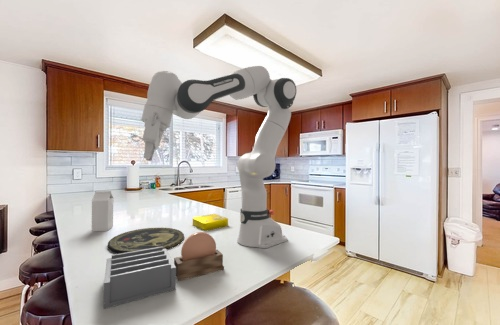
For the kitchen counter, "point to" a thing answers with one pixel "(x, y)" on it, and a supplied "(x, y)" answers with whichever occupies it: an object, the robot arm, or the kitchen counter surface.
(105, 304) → the charcoal dish rack
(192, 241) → the terracotta plate
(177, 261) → the walnut plate stand
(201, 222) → the element tile
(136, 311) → the kitchen counter surface
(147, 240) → the decorative plate
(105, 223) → the milk carton
